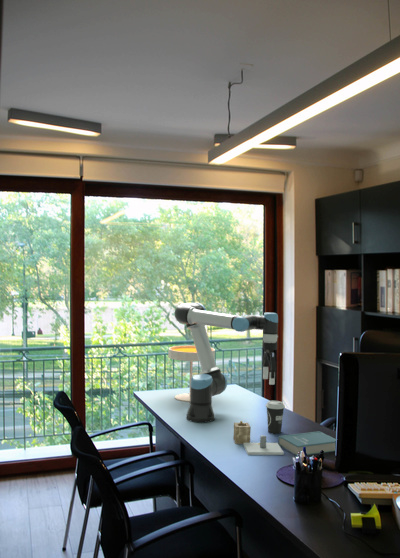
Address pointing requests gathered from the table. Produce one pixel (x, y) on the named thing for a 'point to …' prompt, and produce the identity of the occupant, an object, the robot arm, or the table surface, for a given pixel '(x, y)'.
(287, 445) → the book
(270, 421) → the coffee cup
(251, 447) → the plate
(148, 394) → the table surface
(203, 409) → the robot arm
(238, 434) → the wooden cubby shelf
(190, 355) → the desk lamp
